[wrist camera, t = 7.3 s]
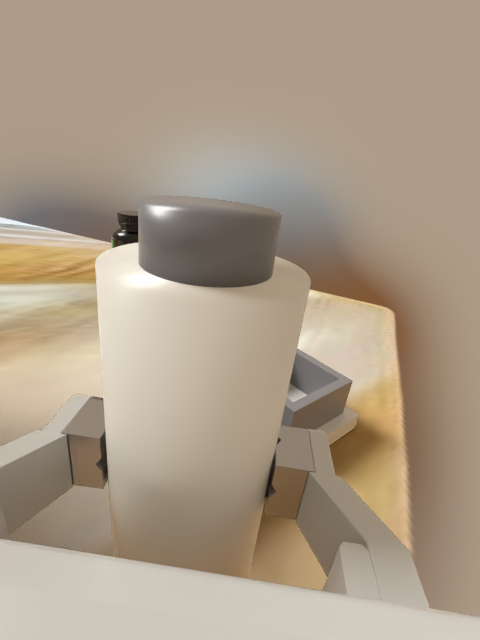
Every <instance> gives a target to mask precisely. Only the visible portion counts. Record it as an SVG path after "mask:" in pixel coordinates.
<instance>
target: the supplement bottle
mask: <svg viewBox="0 0 480 640" xmlns="http://www.w3.org/2000/svg"><path fill="white" fill-rule="evenodd" d="M117 215H118V221H117V224H118V225H119V228H118V229H116V230H115V231H114V232H113V233H112V237H111V239H112V248H115V247H118V246H122V245H127V244H132V243H138V212H137V211H119V212H118V214H117Z"/></svg>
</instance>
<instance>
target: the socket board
mask: <svg viewBox="0 0 480 640" xmlns="http://www.w3.org/2000/svg"><path fill="white" fill-rule="evenodd" d="M351 384H352V380H350V379H349V378H347V377H345V376H343V375H342V374H340V373H338V372H337V371H335V370H333V369H331V368H330V367H328V366H326V365H325V364H323V363H321V362H319V361H318V360H316V359H314V358H313V357H311V356H309V355H307V354H306V353H304V352H302V351H301V350H299V349H297V350H296V355H295V360H294V365H293V369H292V374H291V379H290V383H289V388H288V393H287V398H286V402H285V407H284V412H283V417H282V421H281V425H283V426H290V427H297V428H304V429H314V430H322V431H325V432H326V433H327V437H328V442H329V445H331V444H332V443H334V442H335V441H336V440H338V439H339V438H341V437H342V436H344V435H345V434H347V433H348V432H349V431H351V430H352V429H354V428H355V426H356V423H357V420H358V417H359V414H357V413H356V412H354V411H352V410H351V409H349V408H348V407H346V406H345V404H346V401H347V397H348V394H349V391H350V387H351Z"/></svg>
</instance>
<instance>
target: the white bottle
mask: <svg viewBox="0 0 480 640" xmlns="http://www.w3.org/2000/svg"><path fill="white" fill-rule="evenodd" d="M281 218H282V215H281V214H280V213H279V212H276V211H273V210H271V209H267V208H263V207H259V206H254V205H249V204H244V203H238V202H232V201H225V200H217V199H207V198H198V197H186V196H145V197H141V198H139V199H138V243H132V244H127V245H122V246H118V247H115V248H112V249H109V250H107V251H105V252H103V253H102V254H100V255H99V256H98V257H97V259H96V261H95V268H96V285H97V301H98V318H99V334H100V351H101V367H102V384H103V400H104V416H105V433H106V449H107V466H108V482H109V499H110V515H111V532H112V548H113V557H117V558H123V559H129V560H136V561H142V562H148V563H154V564H160V565H166V566H173V567H179V568H185V569H191V570H197V571H203V572H210V573H216V574H222V575H228V576H234V577H240V578H246V579H248V578H249V573H250V568H251V563H252V559H253V554H254V549H255V544H256V540H257V535H258V530H259V526H260V521H261V516H262V511H263V507H264V502H265V497H266V492H267V487H268V482H269V478H270V473H271V468H272V463H273V459H274V454H275V449H276V445H277V440H278V436H279V431H280V426H281V421H282V417H283V412H284V407H285V402H286V398H287V393H288V388H289V383H290V379H291V374H292V369H293V365H294V360H295V355H296V350H297V346H298V341H299V336H300V331H301V327H302V322H303V317H304V312H305V308H306V303H307V298H308V294H309V289H310V284H311V281H310V278H309V276H308V275H307V273H306V272H305V271H304V270H302V269H301V268H300V267H298V266H296V265H295V264H293V263H291V262H289V261H287V260H284V259H282V258H279V257H276V256H275V255H276V249H277V243H278V237H279V230H280V224H281Z"/></svg>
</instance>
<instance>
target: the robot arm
mask: <svg viewBox="0 0 480 640" xmlns="http://www.w3.org/2000/svg"><path fill="white" fill-rule="evenodd" d="M107 481H108V466H107V449H106V433H105V416H104V400H103V398H99V397H94V396H93V397H91V396H86V395H80V394H76V395H73V396H72V397H71V398H70V399H69V400H68V401H67V403H66V404H65V405H64V406H63V407H62V408H61V409H60V410H59V412H58V413H57V414H56V415H55V416H54V417H53V418H52V420H51V421H50V422H49V423H48V424H47V425H46V426H45V428H44V429H43V430H42V431H41V430H35V431H33V432H31V433H29V434H27V435H24V436H22V437H20V438H18V439H16V440H13V441H11V442H9V443H7V444H5V445H2V446H0V640H480V616H473V615H467V614H461V613H455V612H449V611H443V610H437V609H430V607H429V604H428V602H427V599H426V596H425V593H424V591H423V588H422V585H421V582H420V580H419V577H418V574H417V571H416V568H415V565H414V563H413V560H412V557H411V554H410V551H409V550H408V549H407V548H406V547H405V546H404V545H403V543H402V542H401V541H400V540H399V539H398V538H397V537H396V536H395V535H394V534H393V533H392V532H391V530H390V529H389V528H388V527H387V526H386V525H385V524H384V523H383V522H382V521H381V520H380V518H379V517H378V516H377V515H376V514H375V513H374V512H373V511H372V510H371V509H370V508H369V506H368V505H367V504H366V503H365V502H364V501H363V500H362V499H361V498H360V497H359V496H358V495H357V493H356V492H355V491H354V490H353V489H352V488H351V487H350V486H349V485H348V484H347V483H346V481H345V480H344V479H343V478H342V477H341V476H336V475H335V470H334V465H333V461H332V456H331V451H330V447H329V442H328V437H327V433H326V432H325V431H322V430H314V429H304V428H297V427H290V426H283V425H281V426H280V431H279V436H278V440H277V445H276V449H275V454H274V459H273V463H272V468H271V473H270V478H269V482H268V487H267V492H266V504H265V514H267V515H272V516H277V517H283V518H288V519H293V520H296V523H297V525H298V526H299V528H300V530H301V532H302V533H303V535H304V537H305V539H306V540H307V542H308V544H309V546H310V547H311V549H312V551H313V553H314V554H315V556H316V558H317V560H318V561H319V563H320V565H321V567H322V568H323V570H324V572H325V574H326V575H327V577H328V578H327V581H326V583H325V586H324V588H323V591H320V590H314V589H308V588H302V587H296V586H289V585H283V584H277V583H271V582H265V581H259V580H253V579H246V578H240V577H234V576H228V575H222V574H216V573H210V572H203V571H197V570H191V569H185V568H179V567H173V566H166V565H160V564H154V563H148V562H142V561H136V560H129V559H123V558H117V557H111V556H105V555H99V554H92V553H86V552H80V551H74V550H68V549H62V548H56V547H50V546H44V545H38V544H32V543H26V542H20V541H14V540H10V538H9V534H10V533H12V532H13V531H14V530H16V529H17V528H18V527H20V526H21V525H22V524H24V523H25V522H26V521H28V520H29V519H30V518H32V517H33V516H34V515H36V514H37V513H38V512H40V511H41V510H42V509H44V508H45V507H46V506H48V505H49V504H50V503H52V502H53V501H54V500H56V499H57V498H58V497H60V496H61V495H62V494H64V493H65V492H66V491H68V490H69V489H70V488H72V487H73V485H78V486H86V487H94V488H101V489H103V488H104V486H105V484H106V482H107Z"/></svg>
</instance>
